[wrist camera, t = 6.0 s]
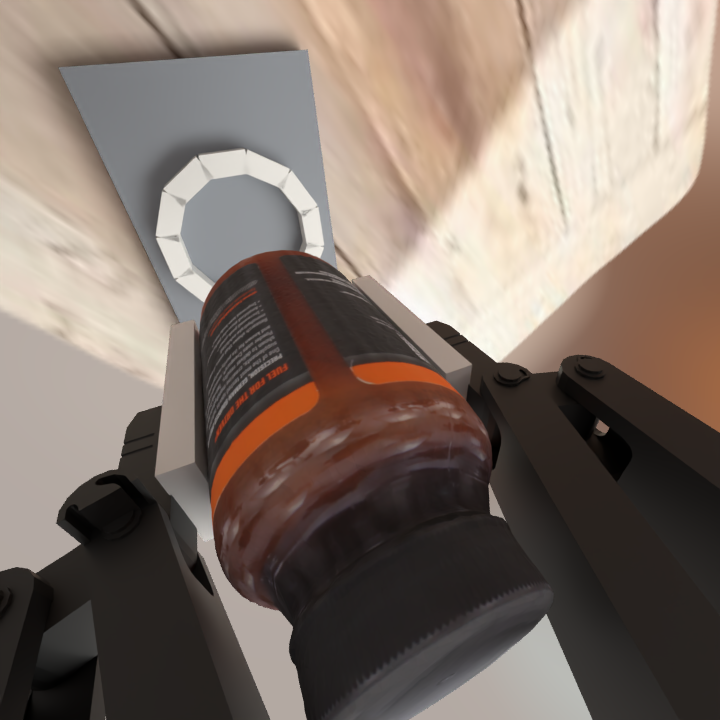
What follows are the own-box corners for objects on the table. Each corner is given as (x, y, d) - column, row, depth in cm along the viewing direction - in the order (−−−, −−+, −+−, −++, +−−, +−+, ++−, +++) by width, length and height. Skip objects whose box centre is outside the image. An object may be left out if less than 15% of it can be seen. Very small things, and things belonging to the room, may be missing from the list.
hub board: (65, 70, 17) (50, 64, 15) (302, 52, 20) (313, 46, 18) (191, 340, 26) (191, 356, 25) (337, 301, 29) (347, 313, 28)
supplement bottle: (191, 381, 13) (193, 855, 5) (207, 225, 11) (272, 670, 2) (332, 384, 16) (491, 686, 8) (372, 262, 13) (687, 515, 5)
